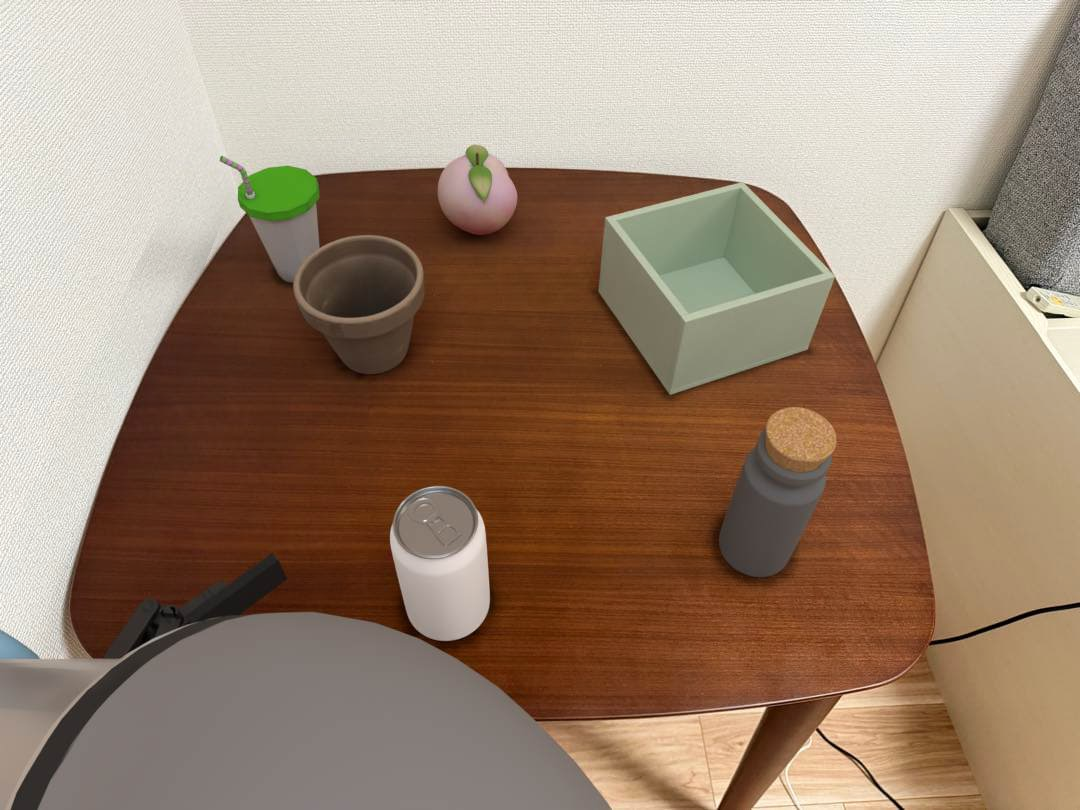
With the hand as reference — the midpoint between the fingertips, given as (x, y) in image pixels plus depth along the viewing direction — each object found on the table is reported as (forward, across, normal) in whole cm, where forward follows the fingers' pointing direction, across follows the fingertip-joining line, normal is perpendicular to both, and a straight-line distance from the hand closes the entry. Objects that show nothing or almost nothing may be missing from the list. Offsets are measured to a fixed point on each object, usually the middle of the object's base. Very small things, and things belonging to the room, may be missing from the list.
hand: (340, 632), depth 53 cm
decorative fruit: (+41, -32, -8) cm, 53 cm away
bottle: (+29, +14, -8) cm, 34 cm away
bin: (+48, -6, -8) cm, 48 cm away
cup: (+23, -40, -8) cm, 47 cm away
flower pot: (+21, -25, -8) cm, 34 cm away
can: (+8, 0, -8) cm, 12 cm away
